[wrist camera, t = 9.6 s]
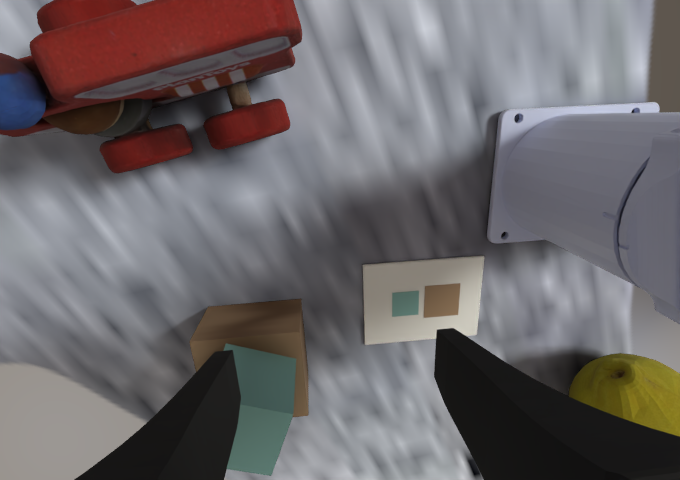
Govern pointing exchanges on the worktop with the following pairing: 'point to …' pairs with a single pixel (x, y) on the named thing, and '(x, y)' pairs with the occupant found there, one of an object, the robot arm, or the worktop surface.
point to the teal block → (261, 408)
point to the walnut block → (257, 336)
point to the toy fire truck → (148, 72)
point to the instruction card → (421, 298)
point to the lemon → (631, 390)
